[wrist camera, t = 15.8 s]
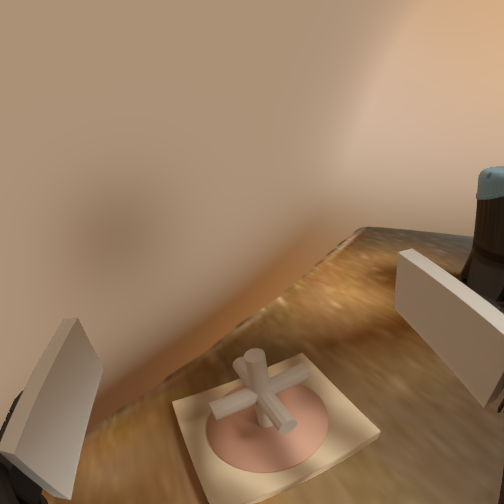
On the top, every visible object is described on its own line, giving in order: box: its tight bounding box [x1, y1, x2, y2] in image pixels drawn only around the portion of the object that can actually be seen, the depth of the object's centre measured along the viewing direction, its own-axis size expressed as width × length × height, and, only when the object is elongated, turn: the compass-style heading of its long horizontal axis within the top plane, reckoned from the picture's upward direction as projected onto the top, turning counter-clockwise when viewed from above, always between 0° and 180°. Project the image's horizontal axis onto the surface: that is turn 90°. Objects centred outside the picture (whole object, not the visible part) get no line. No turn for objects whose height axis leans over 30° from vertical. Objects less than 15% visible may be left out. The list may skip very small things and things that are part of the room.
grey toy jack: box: [209, 348, 311, 434], centre depth 26 cm, size 10×10×10 cm
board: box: [172, 353, 380, 504], centre depth 29 cm, size 18×16×2 cm
